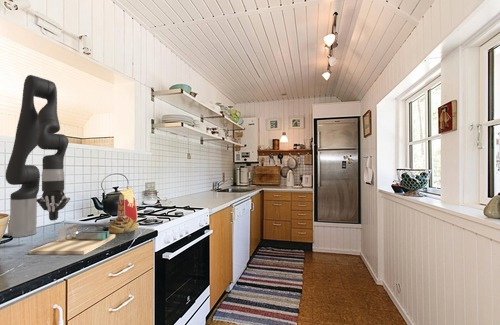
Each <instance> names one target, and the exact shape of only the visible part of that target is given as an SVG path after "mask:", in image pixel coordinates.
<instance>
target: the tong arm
mask: <svg viewBox="0 0 500 325" xmlns="http://www.w3.org/2000/svg"><path fill="white" fill-rule="evenodd" d="M76 239H92V240H104V239H106V233H80V232H79V233H76Z"/></svg>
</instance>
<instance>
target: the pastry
mask: <svg viewBox="0 0 500 325" xmlns="http://www.w3.org/2000/svg"><path fill="white" fill-rule="evenodd" d="M136 230H138V224H137V221H136V220H135V221H134V220H132V219H131V218H129V217H128V216H119V217H118V218H117V217H116V218H115V219H114V220H112V221H111V222H110V223H109V225H108V230H107V231H109V234H115V235H123V234H124V233H130V232H131V233H132V232H134V231H136Z"/></svg>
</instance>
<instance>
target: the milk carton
mask: <svg viewBox="0 0 500 325" xmlns="http://www.w3.org/2000/svg"><path fill="white" fill-rule="evenodd" d="M132 189H133V188H132V186H131V187H128V188H126V189H122V190H119V192H120V193H119V198H118V204H117V205H118V206H117V217H116V218H118V217H119V216H128V217H129V218H131V219H132V220H134V221H135V220H136V222H138V209H137V202H136V199H135V195H134V192H133V190H132Z"/></svg>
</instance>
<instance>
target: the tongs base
mask: <svg viewBox="0 0 500 325" xmlns="http://www.w3.org/2000/svg"><path fill="white" fill-rule="evenodd" d="M76 233H106V238H108V237H109V231H108V230H106V231H104V230H102V231H101V230H98V231H95V230H93V231H91V230H90V231H89V230H88V231H86V230H85V231H79V230H78V231H74V232H72V240H75V239H76Z"/></svg>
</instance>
